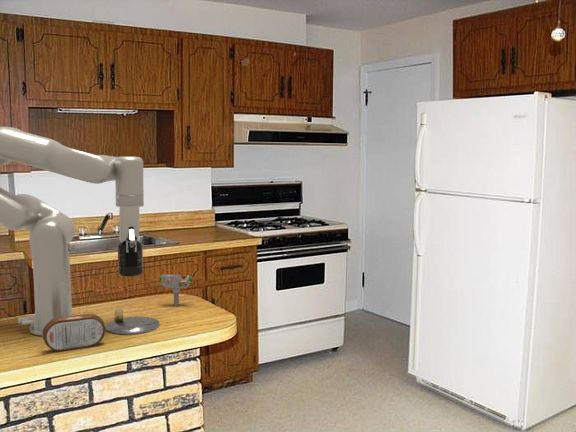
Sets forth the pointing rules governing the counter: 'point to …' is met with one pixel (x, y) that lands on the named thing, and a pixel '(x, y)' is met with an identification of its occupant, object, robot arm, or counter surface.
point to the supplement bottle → (121, 260)
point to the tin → (73, 332)
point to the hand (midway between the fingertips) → (130, 263)
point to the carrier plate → (130, 324)
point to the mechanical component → (175, 284)
